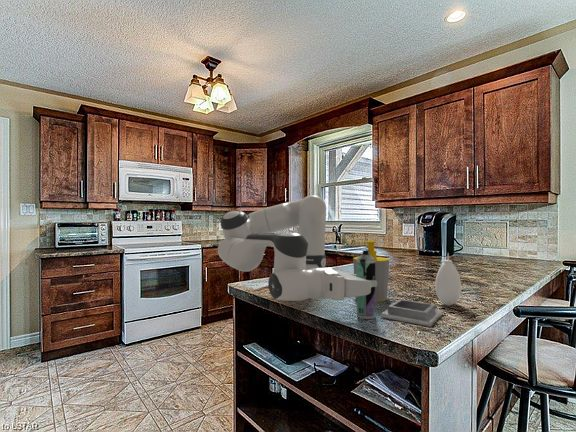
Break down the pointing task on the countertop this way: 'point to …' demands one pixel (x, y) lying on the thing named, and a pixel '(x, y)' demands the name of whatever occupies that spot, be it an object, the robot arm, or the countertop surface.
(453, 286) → the white bulb air blower
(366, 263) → the spray can
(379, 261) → the soap bottle
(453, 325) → the countertop surface
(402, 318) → the socket block
